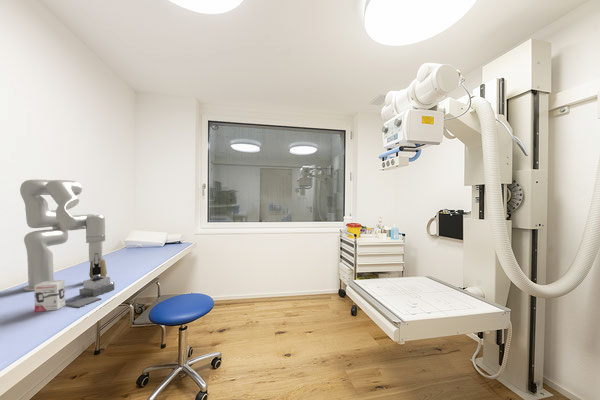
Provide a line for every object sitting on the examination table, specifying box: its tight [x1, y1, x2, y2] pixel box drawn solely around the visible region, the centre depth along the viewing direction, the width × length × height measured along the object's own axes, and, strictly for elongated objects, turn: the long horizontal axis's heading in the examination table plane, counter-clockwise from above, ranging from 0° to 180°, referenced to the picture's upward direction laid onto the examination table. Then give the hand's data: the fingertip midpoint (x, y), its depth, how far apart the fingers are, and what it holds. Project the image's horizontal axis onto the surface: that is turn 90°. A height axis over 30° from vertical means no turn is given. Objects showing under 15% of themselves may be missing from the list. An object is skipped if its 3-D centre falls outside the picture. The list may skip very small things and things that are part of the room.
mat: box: [65, 296, 102, 309], centre depth 111 cm, size 9×9×1 cm
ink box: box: [33, 279, 66, 313], centre depth 105 cm, size 8×5×12 cm, turn 103°
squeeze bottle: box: [88, 255, 108, 279], centre depth 140 cm, size 8×8×18 cm
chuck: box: [79, 276, 115, 297], centre depth 124 cm, size 10×13×7 cm
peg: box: [93, 260, 101, 280], centre depth 122 cm, size 3×3×10 cm
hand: (96, 273), depth 122 cm, fingers closed on peg, 3 cm apart
